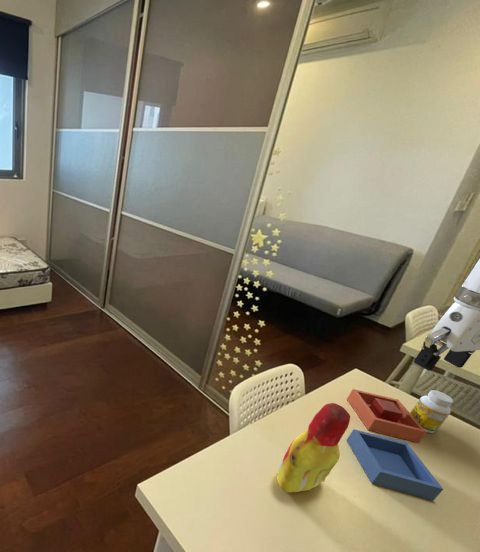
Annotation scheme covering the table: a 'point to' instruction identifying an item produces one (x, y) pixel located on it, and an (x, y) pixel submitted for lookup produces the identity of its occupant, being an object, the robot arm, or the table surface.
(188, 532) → the table surface
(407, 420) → the terracotta bin
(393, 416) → the red block
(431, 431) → the supplement bottle
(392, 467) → the blue bin
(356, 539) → the table surface
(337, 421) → the bottle
